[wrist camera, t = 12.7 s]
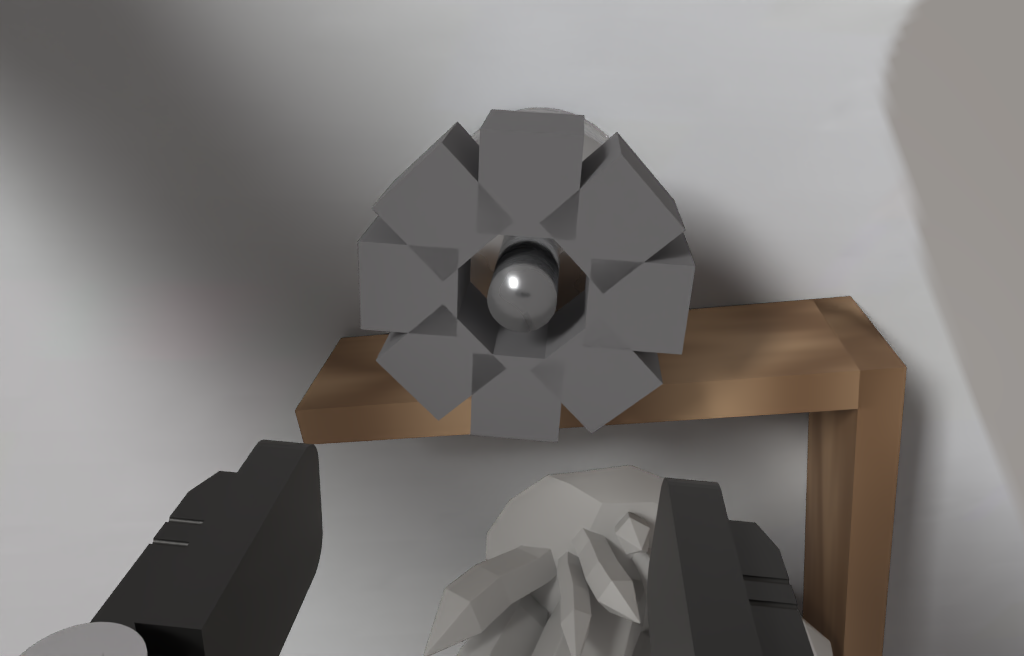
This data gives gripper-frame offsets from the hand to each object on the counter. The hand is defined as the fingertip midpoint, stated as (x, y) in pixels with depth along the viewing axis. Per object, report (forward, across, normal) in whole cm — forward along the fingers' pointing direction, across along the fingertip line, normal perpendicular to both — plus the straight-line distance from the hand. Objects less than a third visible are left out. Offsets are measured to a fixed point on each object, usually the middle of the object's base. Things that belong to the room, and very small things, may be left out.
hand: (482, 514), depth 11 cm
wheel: (+10, 0, 0) cm, 10 cm away
